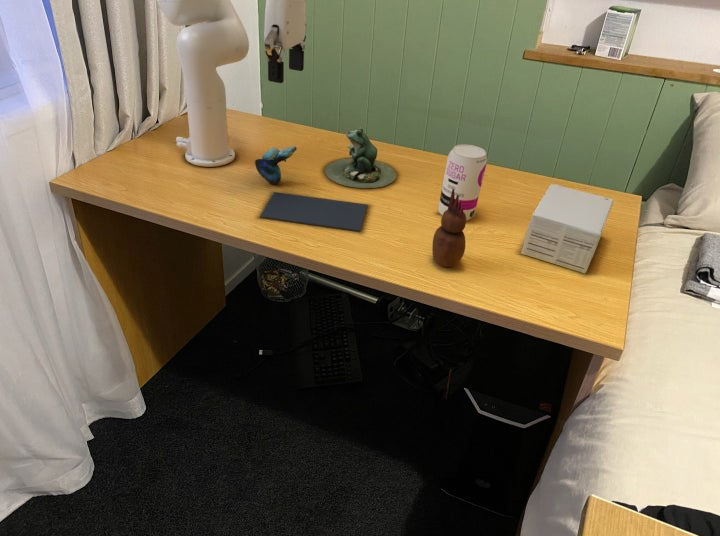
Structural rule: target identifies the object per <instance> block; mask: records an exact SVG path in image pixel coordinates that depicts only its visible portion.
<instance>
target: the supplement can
mask: <svg viewBox="0 0 720 536" xmlns="http://www.w3.org/2000/svg"><path fill="white" fill-rule="evenodd" d="M487 164H488V157H487V152H486V150H485V149H483V148H482V147H480V146H477V145H473V144H456V145H454V146H453V147H452V149H451V151H450V152H449V153H448V155H447V160H446V166H445V170H444V174H443V181H442V186H441V192H440V196H439V202H438V206H437V210H438V212H439V213H440V215H441V217H442V216H443V214H444V212H445V211H446V210H448V206H449V201H450V197H451V193H452V189H454V197H455V199H456V197H457V195H459V201H458V204H459V202H461V208H463V212H464V213H465V215H466V220H467V221H469V220H470V219H472V218H473V217H474V216H475V214H476V210H477V206H478V201H479V197H480V193H481V190H482V185H483V180H484V176H485V172H486V168H487Z"/></svg>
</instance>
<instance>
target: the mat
mask: <svg viewBox="0 0 720 536" xmlns="http://www.w3.org/2000/svg"><path fill="white" fill-rule="evenodd" d="M367 209H368V204H367V203H359V202H352V201H344V200H336V199H330V198H329V199H328V198H321V197H313V196H307V195H299V194H291V193H285V192H284V193H283V192H277V191H274V192H273V193H272V195H271V197H270V198H269V200H268V201H267V204H266V205H265V207H264V209H263V210H262V212H261V214H260V216H259V218H260V219H267V220H272V221H280V222H288V223H295V224H302V225H308V226H315V227H322V228H328V229H329V228H330V229H338V230H342V231H351V232H359V233H360V232H361V230H362V226H363V223H364V218H365V215H366V212H367Z"/></svg>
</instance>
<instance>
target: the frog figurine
mask: <svg viewBox="0 0 720 536" xmlns="http://www.w3.org/2000/svg"><path fill="white" fill-rule="evenodd" d="M345 137H346V138H347V139H348V140H349V142H350V143H349V144H348V145H347V148H348V149H349V152H348V154H349V156H351V158H342V159H338V160H335V161H332V162H331V163H329V164H327V165H326V167H325V168H324V173H325V176H326V177H327V178H328V179H329V180H331V181H332V182H334V183H336V184H339V185H341V186H345V187H350V188H356V189H357V188H358V189H376V188H383V187H385V186H387V185H390V184H392V183H393V182H394V181H395V180H396V178H397V173H396V171H395V169H393V168H392V167H391V166H390V165H388V164H386V163H383V162H381V161H378V160H377V157H378V148H377V146H375V145H374V143H372V142H371V140H370V138H369V136H368V135H367V134H366V133H365V132H364V129H363V127H358V128H357V129H355V130H353V129H352V130H349V131H346V134H345Z"/></svg>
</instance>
